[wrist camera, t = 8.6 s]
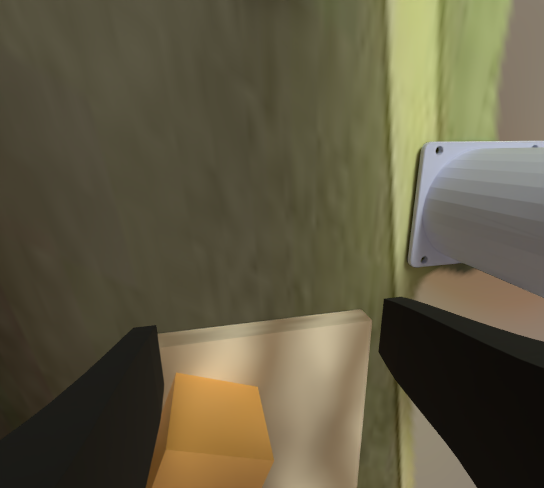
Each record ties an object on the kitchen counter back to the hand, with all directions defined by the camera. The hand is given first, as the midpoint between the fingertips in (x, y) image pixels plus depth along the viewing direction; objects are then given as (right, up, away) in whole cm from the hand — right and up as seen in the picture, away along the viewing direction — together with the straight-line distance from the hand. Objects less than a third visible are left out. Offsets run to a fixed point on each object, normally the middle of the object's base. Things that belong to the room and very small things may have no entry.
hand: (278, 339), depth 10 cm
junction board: (-1, -9, +12) cm, 16 cm away
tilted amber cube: (-4, -8, +10) cm, 13 cm away
